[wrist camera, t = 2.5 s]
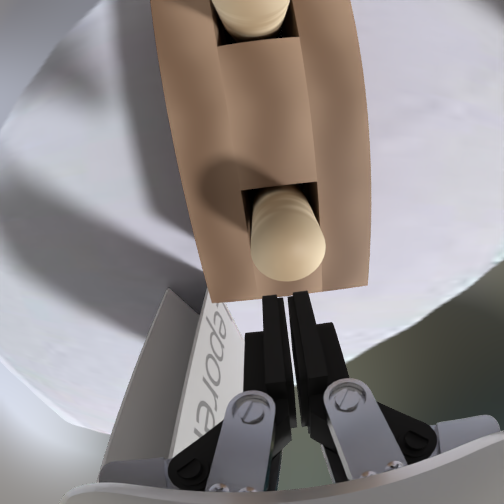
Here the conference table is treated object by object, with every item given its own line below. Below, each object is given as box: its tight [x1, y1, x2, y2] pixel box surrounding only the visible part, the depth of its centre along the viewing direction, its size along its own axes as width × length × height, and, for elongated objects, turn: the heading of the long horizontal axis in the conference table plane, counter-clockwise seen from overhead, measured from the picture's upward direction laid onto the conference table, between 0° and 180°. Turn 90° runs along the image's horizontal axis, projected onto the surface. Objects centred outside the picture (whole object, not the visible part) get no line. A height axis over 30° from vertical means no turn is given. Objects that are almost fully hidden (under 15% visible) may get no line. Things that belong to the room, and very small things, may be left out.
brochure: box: [96, 287, 245, 483], centre depth 21 cm, size 14×6×30 cm, turn 19°
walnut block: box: [150, 0, 371, 303], centre depth 20 cm, size 12×26×8 cm, turn 8°
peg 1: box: [212, 0, 290, 43], centre depth 13 cm, size 4×4×8 cm
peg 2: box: [251, 184, 326, 281], centre depth 19 cm, size 4×4×8 cm
